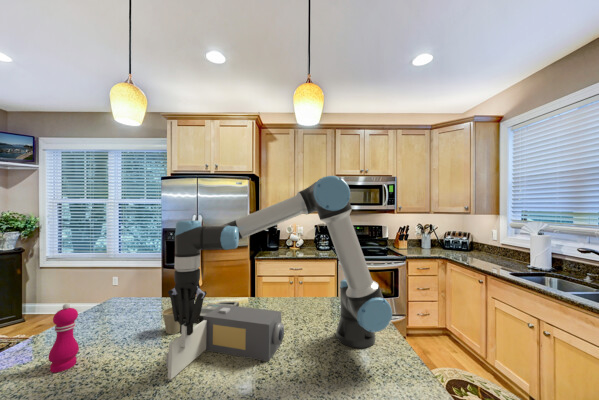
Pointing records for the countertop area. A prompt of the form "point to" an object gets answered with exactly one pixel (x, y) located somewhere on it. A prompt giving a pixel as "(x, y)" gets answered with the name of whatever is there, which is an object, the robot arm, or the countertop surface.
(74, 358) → the pepper mill
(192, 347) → the side door
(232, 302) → the camcorder
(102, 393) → the countertop surface
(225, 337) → the camera body
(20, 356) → the countertop surface
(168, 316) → the flower pot
